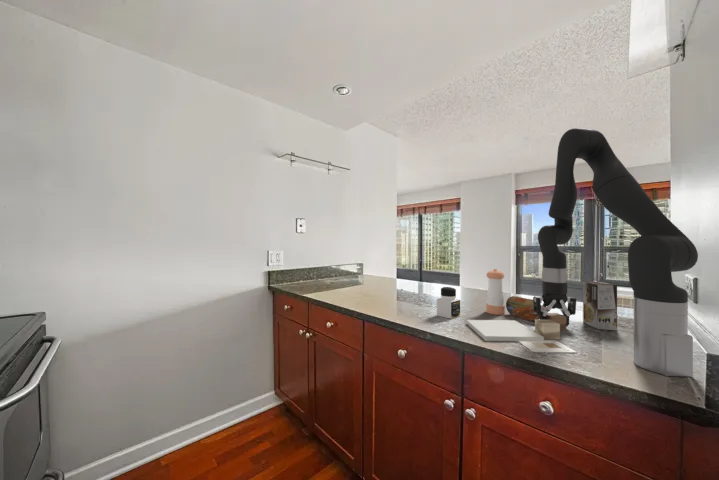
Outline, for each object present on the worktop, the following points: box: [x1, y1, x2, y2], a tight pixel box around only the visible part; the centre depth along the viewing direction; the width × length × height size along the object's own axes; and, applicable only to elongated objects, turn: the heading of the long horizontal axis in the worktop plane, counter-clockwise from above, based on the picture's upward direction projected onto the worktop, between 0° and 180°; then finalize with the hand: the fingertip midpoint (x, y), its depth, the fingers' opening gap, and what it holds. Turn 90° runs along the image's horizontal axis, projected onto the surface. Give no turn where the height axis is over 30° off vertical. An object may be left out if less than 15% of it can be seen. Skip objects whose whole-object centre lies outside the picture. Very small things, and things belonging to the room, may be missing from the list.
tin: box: [505, 296, 540, 322], centre depth 114 cm, size 15×3×8 cm, turn 21°
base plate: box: [466, 319, 545, 342], centre depth 97 cm, size 18×18×2 cm
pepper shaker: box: [485, 268, 506, 316], centre depth 122 cm, size 7×7×19 cm
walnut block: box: [546, 312, 567, 332], centre depth 101 cm, size 5×5×5 cm
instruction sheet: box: [517, 339, 578, 354], centre depth 84 cm, size 9×12×1 cm
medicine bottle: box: [436, 286, 461, 320], centre depth 118 cm, size 7×7×12 cm
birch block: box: [534, 319, 561, 340], centre depth 92 cm, size 5×5×5 cm
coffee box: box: [582, 280, 618, 331], centre depth 103 cm, size 9×6×16 cm
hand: (554, 325), depth 101 cm, fingers open, 7 cm apart
